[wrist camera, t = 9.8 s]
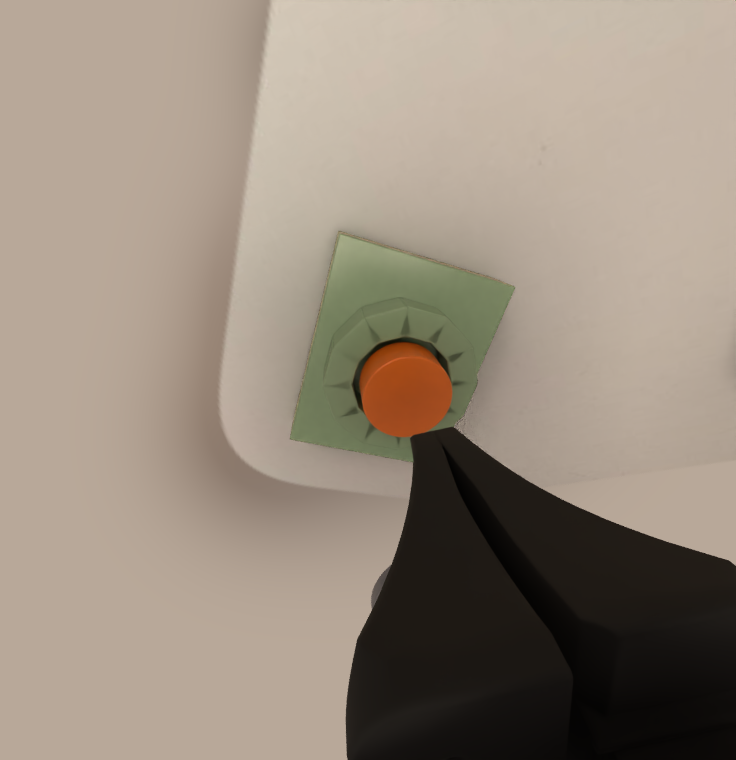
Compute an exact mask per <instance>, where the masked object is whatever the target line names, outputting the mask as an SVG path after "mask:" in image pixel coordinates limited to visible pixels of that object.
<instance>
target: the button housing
mask: <svg viewBox="0 0 736 760" xmlns="http://www.w3.org/2000/svg"><path fill="white" fill-rule="evenodd" d="M514 289H515V287H514V286H512V285H509V284H507V283H504V282H502V281H500V280H497V279H494V278H491V277H488V276H485V275H481V274H478V273H475V272H472V271H468V270H465V269H462V268H459V267H455V266H452V265H449V264H446V263H442V262H439V261H436V260H433V259H429V258H426V257H423V256H420V255H416V254H413V253H410V252H407V251H403V250H400V249H397V248H394V247H390V246H387V245H384V244H381V243H377V242H374V241H371V240H367V239H364V238H361V237H358V236H354V235H351V234H348V233H345V232H341V231H338V234H337V238H336V243H335V247H334V251H333V255H332V259H331V263H330V268H329V272H328V276H327V280H326V284H325V289H324V293H323V297H322V301H321V305H320V309H319V314H318V318H317V322H316V326H315V330H314V335H313V339H312V343H311V347H310V351H309V355H308V360H307V364H306V368H305V372H304V376H303V380H302V385H301V389H300V393H299V397H298V401H297V406H296V410H295V414H294V418H293V424H292V429H291V435H290V439H291V440H296V441H301V442H307V443H312V444H317V445H323V446H328V447H333V448H339V449H344V450H349V451H355V452H360V453H365V454H371V455H376V456H381V457H387V458H392V459H397V460H403V461H408V462H413V454H412V449H411V443H410V438H411V437H412V436H411V437H396V436H391V435H388V434H385V433H383V432H381V431H380V430H378V429H377V428H375V427H374V426H373V425H372V424H371V423H370V421H369V420H368V419H367V417H366V415H365V413H364V410H363V405H362V399H361V393H360V385H359V380H360V374H361V371H362V368H363V366H364V364H365V363H366V361H367V360H368V358H369V357H370V356H371V355H372V354H373V353H375V352H376V351H377V350H379V349H380V348H382V347H384V346H386V345H389V344H392V343H397V342H410V343H415V344H418V345H420V346H423V347H424V348H426V349H427V350H429V351H430V352H431V353H432V354H433V355H434V356H435V358H436V359H437V360H438V362H439V363H440V365H441V366H442V367H443V369H444V370H445V372H446V373H447V375H448V376H449V379H450V381H451V385H452V400H451V404H450V407H449V409H448V411H447V413H446V415H445V416H444V418H443V419H442V420H441V421H440V422H439V423H438V424H437V425H436V426H435V427H433V428H432V429H430V430H429V431H434V430H439V429H443V428H448V427H454V425H455V423H456V422H457V421H458V420H459V419H461V418H462V416H463V415H464V413H465V411H466V409H467V406H468V404H469V402H470V400H471V397H472V395H473V393H474V391H475V388H476V386H477V382H478V379H477V373H478V371H479V368H480V366H481V364H482V362H483V359H484V357H485V355H486V353H487V350H488V348H489V346H490V344H491V341H492V339H493V337H494V334H495V332H496V330H497V328H498V325H499V323H500V321H501V319H502V316H503V314H504V312H505V310H506V307H507V305H508V303H509V300H510V298H511V296H512V294H513V291H514ZM429 431H427V432H429Z"/></svg>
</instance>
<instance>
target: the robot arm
mask: <svg viewBox="0 0 736 760" xmlns="http://www.w3.org/2000/svg"><path fill="white" fill-rule="evenodd" d="M410 443H411V449H412V454H413V477H412V487H411V493H410V500H409V506H408V510H407V515H406V519H405V523H404V527H403V531H402V535H401V538H400V541H399V544H398V548H397V551H396V554H395V557H394V560H393V562H392V565H391V568H390V570H389V572H388V575H387V577H386V580H385V582H384V585H383V587H382V590H381V592H380V594H379V597H378V599H377V601H376V603H375V605H374V607H373V609H372V611H371V613H370V615H369V617H368V619H367V621H366V623H365V625H364V627H363V629H362V631H361V633H360V635H359V637H358V639H357V643H356V648H355V653H354V658H353V663H352V669H351V674H350V679H349V686H348V695H347V705H346V706H347V707H346V743H347V758H348V760H736V566H735V565H734V564H733V563H731V562H730V561H728V560H725V559H722V558H718V557H715V556H712V555H709V554H705V553H702V552H699V551H695V550H692V549H689V548H685V547H682V546H679V545H676V544H672V543H669V542H666V541H663V540H660V539H657V538H654V537H651V536H648V535H646V534H643V533H640V532H638V531H635V530H632V529H629V528H627V527H624V526H621V525H619V524H616V523H614V522H611V521H609V520H606V519H604V518H601V517H599V516H597V515H595V514H592V513H590V512H588V511H585V510H583V509H581V508H579V507H576V506H574V505H572V504H570V503H568V502H566V501H564V500H561V499H560V498H558V497H556V496H554V495H552V494H550V493H548V492H547V491H545V490H543V489H541V488H539V487H537V486H536V485H534V484H532V483H530V482H529V481H527V480H525V479H524V478H522V477H521V476H519V475H517V474H516V473H514V472H513V471H511V470H510V469H508V468H507V467H505V466H504V465H502V464H501V463H500V462H498V461H497V460H495V459H494V458H493V457H491V456H490V455H488V454H487V453H486V452H484V451H483V450H482V449H480V448H479V447H478V446H476V445H475V444H474V443H473V442H471V441H470V440H469V439H468V438H466V437H465V436H464V435H463V434H461V433H460V432H459V431H458V430H457V429H455V428H454V427H448V428H443V429H439V430H434V431H429V432H425V433H420V434H415V435H413V436H412V437H411V438H410Z"/></svg>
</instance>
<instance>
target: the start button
mask: <svg viewBox="0 0 736 760" xmlns="http://www.w3.org/2000/svg"><path fill="white" fill-rule="evenodd" d="M359 385H360V393H361V399H362V405H363V410H364V413H365V415H366V417H367V419H368V420H369V421H370V423H371V424H372V425H373V426H374V427H375V428H377V429H378V430H380V431H381V432H383V433H385V434H388V435H391V436H396V437H411V436H413V435H415V434H420V433H425V432H427V431H429V430H430V429H432V428H433V427H435V426H436V425H437V424H438V423H439V422H440V421H441V420H442V419H443V418H444V416H445V415H446V413H447V411H448V409H449V407H450V404H451V400H452V385H451V381H450V379H449V376H448V375H447V373H446V372H445V370H444V369H443V367H442V366H441V365H440V363H439V362H438V360H437V359H436V358H435V356H434V355H433V354H432V353H431V352H430V351H429V350H427V349H426V348H424V347H423V346H420V345H418V344H415V343H410V342H397V343H392V344H389V345H386V346H384V347H382V348H380V349H379V350H377V351H376V352H375V353H373V354H372V355H371V356H370V357H369V358H368V360H367V361H366V363H365V364H364V366H363V368H362V371H361V374H360V380H359Z"/></svg>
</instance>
